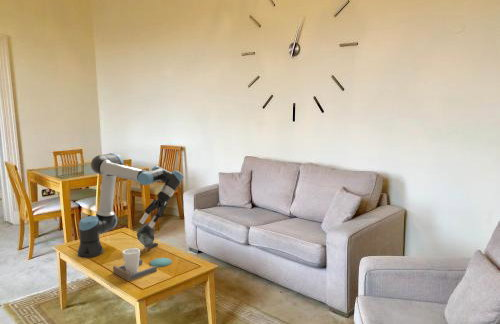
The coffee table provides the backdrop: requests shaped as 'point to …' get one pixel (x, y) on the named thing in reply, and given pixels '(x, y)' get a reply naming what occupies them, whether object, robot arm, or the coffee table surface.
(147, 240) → the grey rock
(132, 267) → the foam cup
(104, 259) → the coffee table surface
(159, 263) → the teal mat
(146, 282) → the coffee table surface
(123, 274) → the cup lane
